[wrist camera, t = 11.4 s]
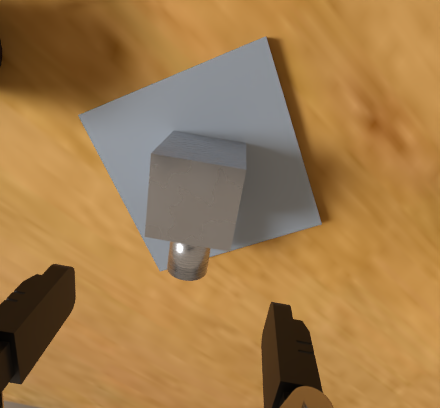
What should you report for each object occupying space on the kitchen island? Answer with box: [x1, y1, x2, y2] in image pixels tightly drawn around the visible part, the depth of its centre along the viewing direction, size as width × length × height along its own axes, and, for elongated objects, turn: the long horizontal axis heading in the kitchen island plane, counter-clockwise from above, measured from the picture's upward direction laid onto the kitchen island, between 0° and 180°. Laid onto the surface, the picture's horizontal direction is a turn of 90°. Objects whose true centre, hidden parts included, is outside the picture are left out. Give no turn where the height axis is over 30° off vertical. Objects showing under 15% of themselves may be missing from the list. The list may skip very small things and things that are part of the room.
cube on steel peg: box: [145, 131, 246, 281], centre depth 26 cm, size 10×6×7 cm, turn 171°
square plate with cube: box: [78, 37, 322, 271], centre depth 27 cm, size 16×16×6 cm
